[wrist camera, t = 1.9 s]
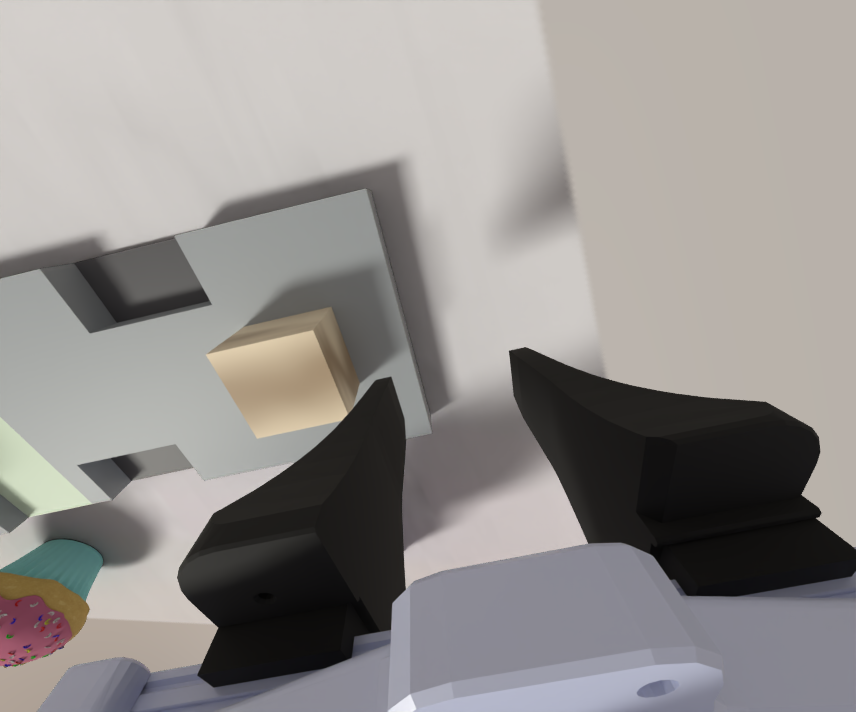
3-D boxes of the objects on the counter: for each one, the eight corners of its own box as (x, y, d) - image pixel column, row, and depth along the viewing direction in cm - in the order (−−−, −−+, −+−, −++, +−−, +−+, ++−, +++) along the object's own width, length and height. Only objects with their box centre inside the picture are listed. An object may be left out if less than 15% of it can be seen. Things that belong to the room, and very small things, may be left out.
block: (359, 383, 19) (349, 419, 16) (282, 400, 19) (257, 438, 16) (331, 306, 17) (312, 330, 13) (243, 326, 17) (205, 354, 14)
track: (430, 415, 23) (433, 446, 20) (45, 496, 24) (-4, 535, 21) (370, 190, 16) (362, 186, 13) (-157, 320, 17) (-269, 342, 14)
